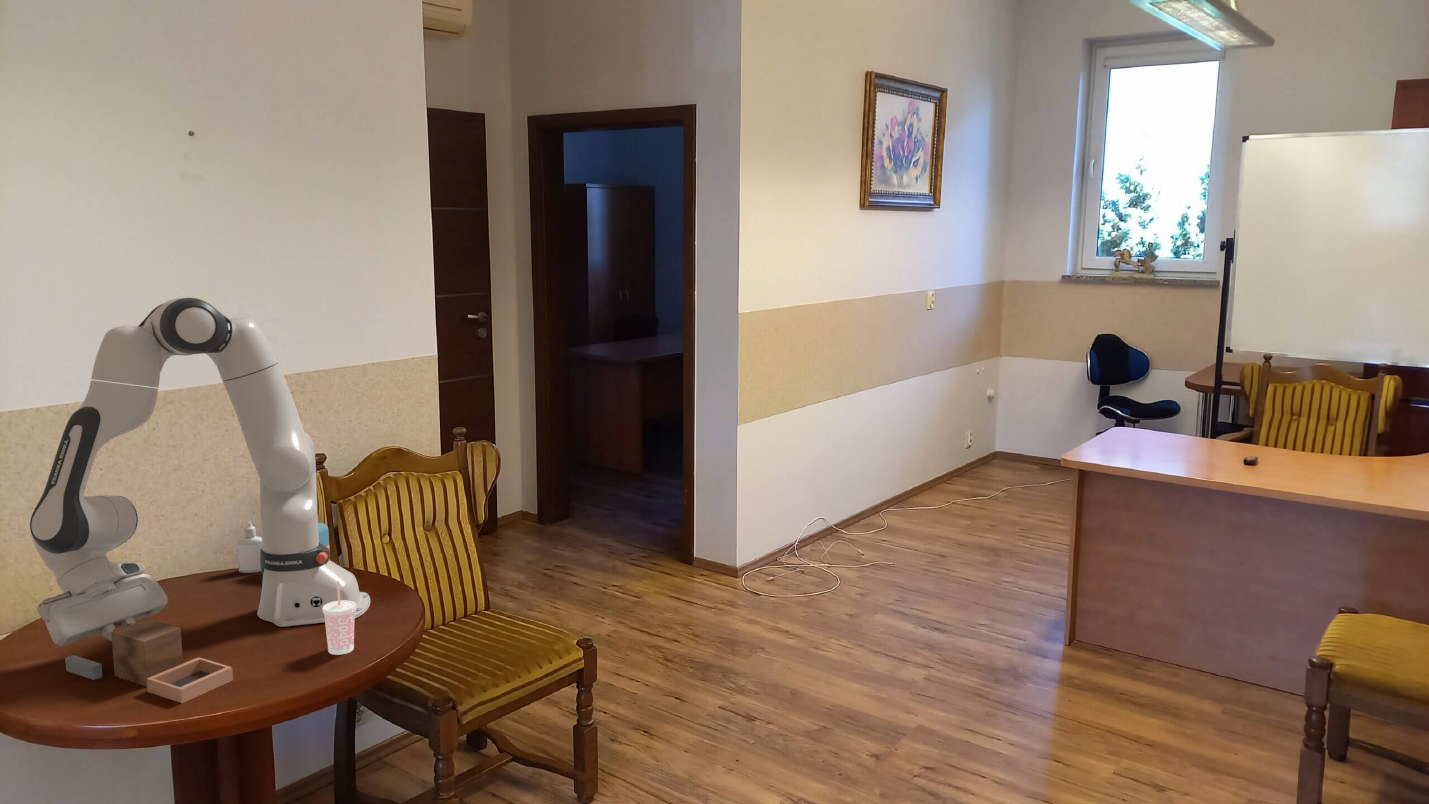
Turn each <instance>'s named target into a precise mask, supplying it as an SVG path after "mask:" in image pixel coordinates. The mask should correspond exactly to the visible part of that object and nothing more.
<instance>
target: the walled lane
mask: <svg viewBox="0 0 1429 804" xmlns="http://www.w3.org/2000/svg"><path fill="white" fill-rule="evenodd" d="M64 661H65V670H66V671H65V672H67V673H68V672H69V673H71V674H75V675H77V676H81V677H83V678H87V679H90V680H92V681H96V680H97V679H98V680H99V679H101V678H103V668H102V663H100V662H96V661H94V660H91V659H87V658H85V657H82V656H78V655H76V654H75V655H74V654H73V655H69V656H66V657H65V658H64Z"/></svg>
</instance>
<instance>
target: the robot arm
mask: <svg viewBox="0 0 1429 804" xmlns="http://www.w3.org/2000/svg"><path fill="white" fill-rule="evenodd" d="M274 351H275V350H274V349H273V347H272V346H271V344H270V342H269V340H268V338H267V336H266V335H265V333H264V332H263V330H262V329H261V327H260V326H259V324H257V322H256V321H255V320H253V319H250V318H247V317H232V318H229V317H227V316H226V315H224V314H223V313H222V312H220V311H219V310H218V309H217V308H216V307H215V306H213V305H212V304H210V303H208V302H207V301H205V300H202V299H201V298H200V299H199V298H196V297H178V298H173V299H169V300H166V301H165V302H163V303H161V304H159V305H157V306H156V307H155V308H153V310H151V311H150V312H149V314H147V316H146V317H145V318H144V319H143V320H142V321H141V322H140V323H139V325H121V326H116V327H112V328H111V329H109V330H108V331H107V332H106V333H105V335H103V339H102V340H101V343H100V345H99V348H98V351H97V354H96V357H95V360H94V363H93V368H92V372H91V377H90V379H91V380H90V382H89V387H88V390H87V394H86V396H85V398H84V400H83V403H82V404H81V405H80V407H79V408H78V409H77V410H76V411H75V412H73V413H72V414H71V415H70V417H69V418H68V421H67V423H66V425H65V427H64V431H63V433H62V436H61V439H60V441H59V444H58V448H57V451H56V454H55V457H54V458H53V463H52V467H51V469H50V473H49V475H48V478H47V481H46V483H45V488H44V490H43V492H42V495H41V497H40V498H39V500H38V501H37V504H36V506H35V508H34V510H33V512H32V514H31V516H30V520H29V529H30V533H31V537H32V542H33V544H34V547H35V548H36V551H37V552H38V554H39V556H40V558H41V560H42V561H43V562H44V565H45V566H46V567H47V569H49V570H50V571H51V572H52V573H53V575H55V578H56V584H57V586H58V587H59V589H60V590H61V591H62V593H59V594H58V595H55V596H51V597H47V598H45V599H43V600H42V601H41V602H40V603H39V604H38V606H37V613H38V614H39V616H40V618H41V619H42V620H43V621H44V622H45V626H46V628H47V632H48V633H49V636H50V638H51V639H52V641H53V643H54V644H55V645H57V646H59V647H65V646H68V645H71V644H73V643H77V642H79V641H82V640H85V639H87V638H91V637H93V636H96V635H99V634H101V635H102V637H103V638H105V639H106V640H108V641H111V642H112V636H111V632H113V631H116V630H117V628H119V627H121V628H124V627H127V626H130V625H133V624H135V623H136V621H139V620H141V619H144V618H147V617H150V616H151V617H152V616H154V615H156V614H159V613H161V612H162V611H163V610H164V609H165V607H166V606H167V604H168V600H169V598H168V595H167V593H166V592H165V591H164V589H163V588H162V587H161V585H160V584H159V583H158V581H157V580H156V579H155V578H154V577H153V576H152V575H150V574H148V573H145V571H146V567H145V565H144V564H143V563H142V562H140V561H138V562H137V561H136V562H132V561H129V562H128V561H127V562H118V561H117V562H116V561H110V560H109V559H108V557H107V553H108V552H109V551H110V552H111V551H112V550H115V549H116V548H118V547H120V546H121V545H123V544H124V543H125V542H127V541H128V540H130V539H131V538H132V536H133V535H134V534H135V532H136V530H137V527H138V524H139V523H138V522H139V517H138V513H137V509H136V508H135V505H134V504H133V503H132V502H131V501H130V499H128V498H126V497H124V496H122V495H121V496H120V495H93V496H90V495H88V496H87V495H85V491H86V489H87V488H86V487H87V485H88V482H89V478H90V475H91V471H92V467H93V465H94V461H95V459H96V456H97V455H98V453H99V451H100V450H101V448H102V447H104V446H105V445H106V444H107V443H108V442H110V441H112V440H113V439H115V438H117V437H119V436H121V435H124V434H127V433H130V432H133V431H135V430H137V429H138V428H140V427H141V426H143V425H144V424H145V423H146V422H148V421H149V420H150V418H151V417H152V415H153V413H154V411H155V407H156V404H157V401H158V394H159V386H160V379H161V372H162V370H163V367H164V365H165V363H166V362H167V361H168V359H169V358H171V357H174V356H184V357H185V356H187V357H188V356H192V355H197V354H198V355H199V354H205V355H207V356H208V357H209V358H210V359H211V361H213V363H214V365H215V366H216V368H217V370H218V373H219V376H220V378H221V380H222V384H223V386H224V388H225V390H226V392H227V394H228V397H229V400H230V402H231V404H232V407H233V409H234V412H235V414H236V416H237V420H238V422H239V425H240V429H241V431H242V434H243V438H244V440H245V444H246V447H247V449H248V452H249V454H250V457H251V461H252V463H253V466H254V468H255V471H256V473H257V477H259V493H260V498H259V500H260V502H259V503H260V504H259V505H260V506H259V507H260V509H259V511H260V528H261V529H260V530H261V538H262V549H261V550H260V569H261V571H260V573H261V575H262V584H261V585H262V587H261V594H260V598H259V599H260V601H259V605H258V609H257V612H256V615H257V616H258V617H259V619H261V620H263V621H266V622H269V623H273V625H275V626H277V627H280V628H282V627H284V628H285V627H292V626H301V625H310V624H311V625H312V624H320V623H325V617H324V613H323V610H322V608H323V606H324V605H325V604H327V603H330V602H334V601H338V594H337V581H340V601H341V600H347V601H353V602H355V603H356V610H355V619H357V618H359V617H361V616H362V615H364V614H365V612H367V610H368V609H369V607H370V605H371V596H370V595H369V594H368V593H367V592H364V591H362V592H361V591H360V589H359V583H358V581H357V578H356V576H355V574H353V572H350V571H349V570H347V569H346V568H343V567H342V566H340V565H338V563H335V562H334V561H332V560H331V559H330V560H329V553H330V551H331V550H330V549H331V548H330V544H329V545H328V546H327V547H325V546H324V545H322V544H321V543H319V535H318V523H319V517H318V494H317V467H316V466H317V463H316V461H317V460H316V446H315V444H314V441H313V439H312V438H311V435H309V434H308V433H307V432H306V431H305V430H304V427H303V424H302V420H301V418H300V415H299V413H298V409H297V407H296V404H295V403H296V402H295V401H294V397H293V395H292V392H291V390H290V387H289V385H288V382H287V379H286V378H285V375H284V373H283V371H282V369H281V365H280V363H279V361H278V358H277V356H276V354H275V352H274ZM84 495H85V496H84Z"/></svg>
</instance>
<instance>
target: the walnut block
mask: <svg viewBox="0 0 1429 804" xmlns="http://www.w3.org/2000/svg"><path fill="white" fill-rule="evenodd" d="M111 636H112V641H111V646H112V647H111V648H112V658H113V659H112V660H113V669H114V677H116V676H118V677H117V678H119V679H122V678H123V679H122V680H125V679H127V680H126V681H128V680H130V681H129V682H131V681H132V682H131V683H134V682H135V684H137V683H138V684H137V685H140V684H141V686H143V685H144V687H146V688H147V678H149V677H152V676H154V675H157V674H159V673H161V672H164V671H166V670H169V669H171V668H174V667H176V666H178V665H181V664H183V663H184V659H183V657H184V656H183V643H182V630H181V627H178V626H174V625H171V624H167V623H163V622H160V621H157V620H153V619H150V618H148V619H147V618H146V619H144V620H142V621H138V622H135V624H133V625H130V626H127V627H124V628H122V627H121V628H119V629H115V630H114V631H113V632H111Z"/></svg>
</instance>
